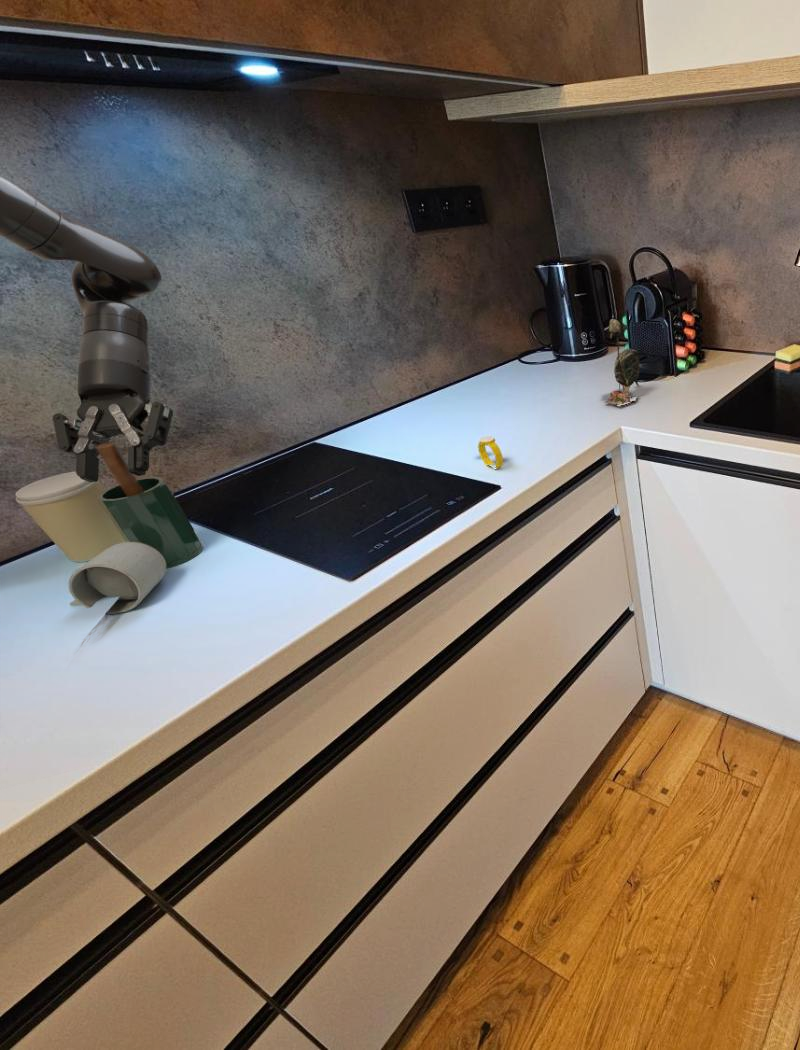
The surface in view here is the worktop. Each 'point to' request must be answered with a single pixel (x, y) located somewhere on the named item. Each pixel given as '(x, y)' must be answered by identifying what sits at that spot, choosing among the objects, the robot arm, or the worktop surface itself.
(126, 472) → the mallet
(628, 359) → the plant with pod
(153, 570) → the ceramic mug
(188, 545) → the green patterned cylindrical cup
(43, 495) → the coffee cup
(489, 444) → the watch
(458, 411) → the worktop surface
